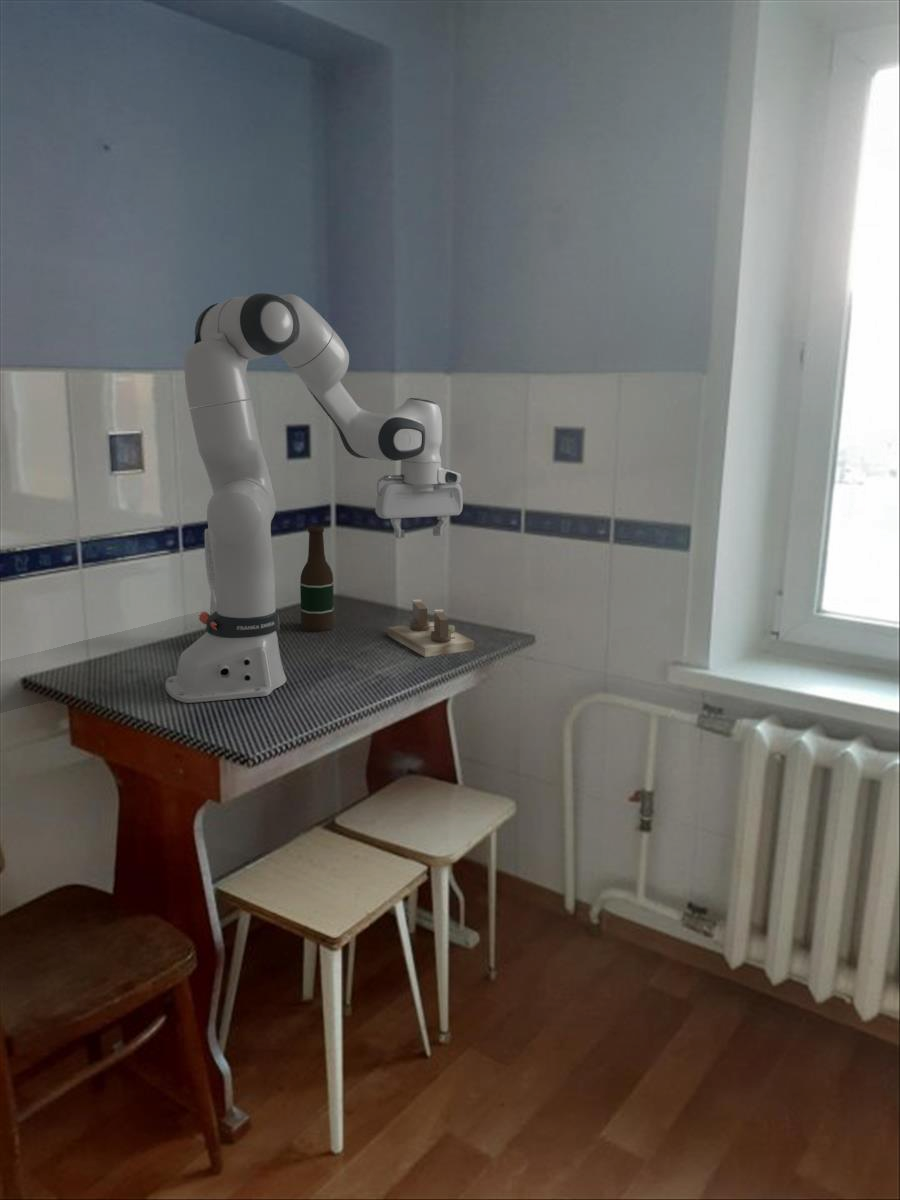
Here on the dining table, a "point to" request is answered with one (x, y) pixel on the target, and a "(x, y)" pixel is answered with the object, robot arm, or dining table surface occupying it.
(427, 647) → the control panel
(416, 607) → the knob far
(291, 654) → the dining table surface
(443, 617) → the knob near
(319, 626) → the beer bottle
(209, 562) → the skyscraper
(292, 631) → the dining table surface
